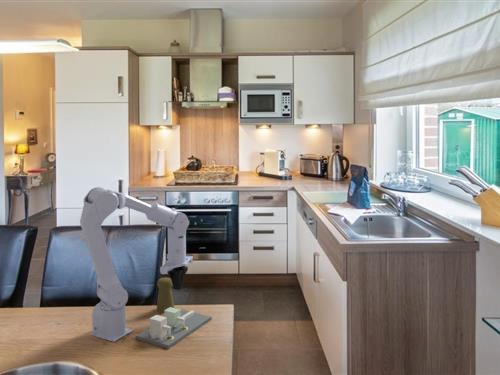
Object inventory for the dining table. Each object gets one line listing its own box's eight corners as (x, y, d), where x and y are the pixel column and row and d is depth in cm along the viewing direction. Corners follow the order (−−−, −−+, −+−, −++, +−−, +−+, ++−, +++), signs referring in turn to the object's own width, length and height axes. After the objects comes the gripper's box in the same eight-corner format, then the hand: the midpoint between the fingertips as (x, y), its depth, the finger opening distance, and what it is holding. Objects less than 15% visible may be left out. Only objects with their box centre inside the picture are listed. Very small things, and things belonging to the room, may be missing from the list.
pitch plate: (136, 338, 133) (135, 318, 133) (181, 312, 153) (181, 294, 152) (168, 348, 128) (168, 327, 127) (211, 319, 147) (211, 301, 146)
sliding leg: (164, 325, 139) (164, 310, 139) (170, 321, 142) (170, 307, 141) (181, 329, 136) (181, 314, 136) (187, 326, 139) (187, 311, 138)
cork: (172, 313, 152) (172, 281, 150) (154, 313, 152) (154, 281, 150) (175, 306, 158) (175, 275, 156) (158, 306, 158) (157, 275, 156)
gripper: (172, 255, 138) (173, 298, 140) (200, 244, 151) (200, 284, 152) (154, 252, 141) (155, 294, 143) (183, 242, 154) (183, 280, 156)
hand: (177, 288), depth 148 cm, fingers closed
